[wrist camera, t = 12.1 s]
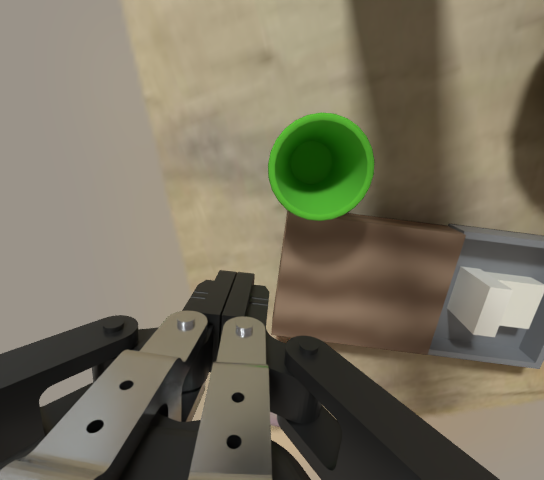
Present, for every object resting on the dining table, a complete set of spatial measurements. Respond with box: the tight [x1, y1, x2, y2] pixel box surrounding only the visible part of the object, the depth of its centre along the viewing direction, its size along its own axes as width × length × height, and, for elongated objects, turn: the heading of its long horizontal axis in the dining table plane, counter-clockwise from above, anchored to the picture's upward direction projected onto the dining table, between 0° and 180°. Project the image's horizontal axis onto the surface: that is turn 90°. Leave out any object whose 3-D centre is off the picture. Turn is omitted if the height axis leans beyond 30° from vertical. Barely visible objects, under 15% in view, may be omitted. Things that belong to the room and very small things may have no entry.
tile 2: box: [486, 272, 544, 329], centre depth 39 cm, size 6×6×2 cm
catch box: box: [428, 224, 544, 369], centre depth 39 cm, size 17×15×4 cm
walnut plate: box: [271, 210, 466, 355], centre depth 39 cm, size 16×20×4 cm
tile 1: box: [447, 266, 513, 337], centre depth 37 cm, size 6×6×2 cm
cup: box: [268, 113, 374, 221], centre depth 31 cm, size 9×9×11 cm
